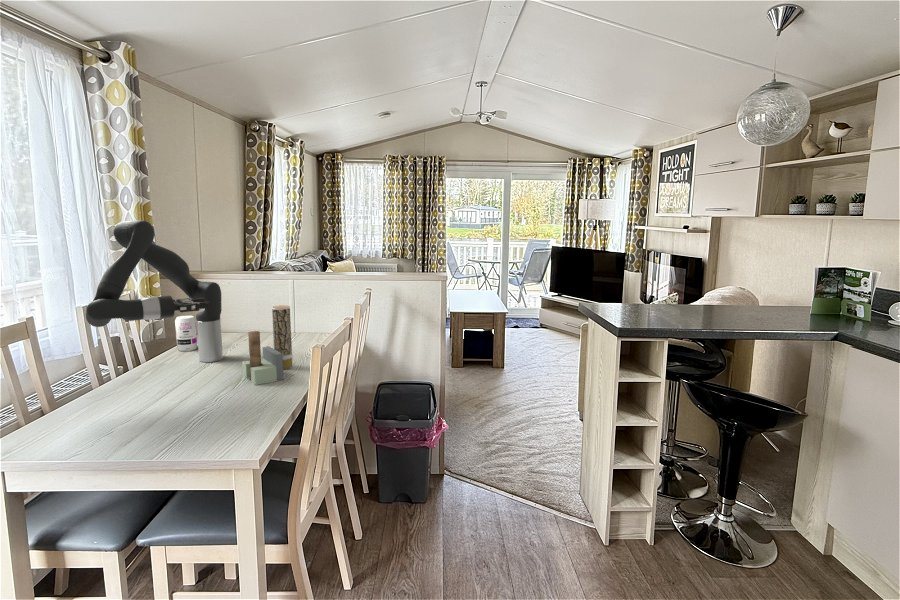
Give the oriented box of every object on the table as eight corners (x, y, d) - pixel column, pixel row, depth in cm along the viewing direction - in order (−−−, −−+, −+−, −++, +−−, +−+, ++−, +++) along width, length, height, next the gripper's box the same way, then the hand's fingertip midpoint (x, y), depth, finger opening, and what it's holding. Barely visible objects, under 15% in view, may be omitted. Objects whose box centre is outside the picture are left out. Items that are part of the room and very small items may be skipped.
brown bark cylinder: (287, 370, 211) (284, 308, 207) (271, 369, 213) (268, 307, 209) (295, 365, 218) (293, 305, 214) (280, 364, 219) (277, 305, 215)
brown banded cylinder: (249, 378, 201) (246, 332, 198) (259, 376, 204) (257, 330, 201) (252, 381, 198) (250, 334, 195) (263, 379, 200) (261, 332, 197)
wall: (263, 371, 209) (262, 347, 208) (270, 370, 211) (268, 346, 209) (276, 380, 199) (275, 354, 197) (283, 379, 200) (282, 353, 198)
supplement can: (191, 346, 248) (188, 314, 245) (200, 348, 243) (198, 316, 241) (173, 349, 241) (171, 317, 239) (183, 352, 237) (180, 319, 234)
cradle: (243, 375, 204) (242, 361, 204) (263, 371, 209) (263, 358, 208) (255, 385, 194) (254, 370, 193) (276, 380, 199) (276, 366, 198)
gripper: (160, 299, 174) (212, 295, 184) (152, 294, 185) (201, 290, 195) (162, 322, 175) (214, 316, 185) (153, 315, 186) (203, 310, 196)
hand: (207, 302), depth 190 cm, fingers open, 8 cm apart
